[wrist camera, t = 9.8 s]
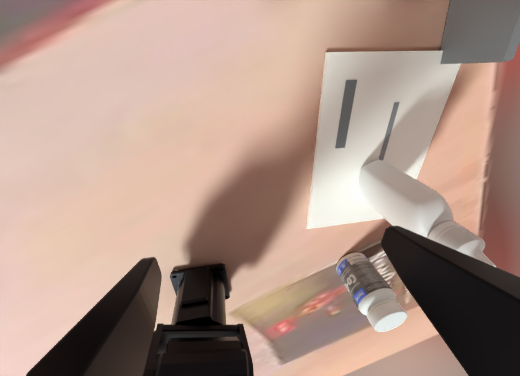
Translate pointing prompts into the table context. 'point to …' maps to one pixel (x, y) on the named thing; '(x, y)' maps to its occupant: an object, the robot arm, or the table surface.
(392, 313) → the pill bottle
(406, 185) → the white plastic bottle
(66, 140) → the table surface
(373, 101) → the paper sheet
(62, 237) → the table surface
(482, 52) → the gray rectangular block
